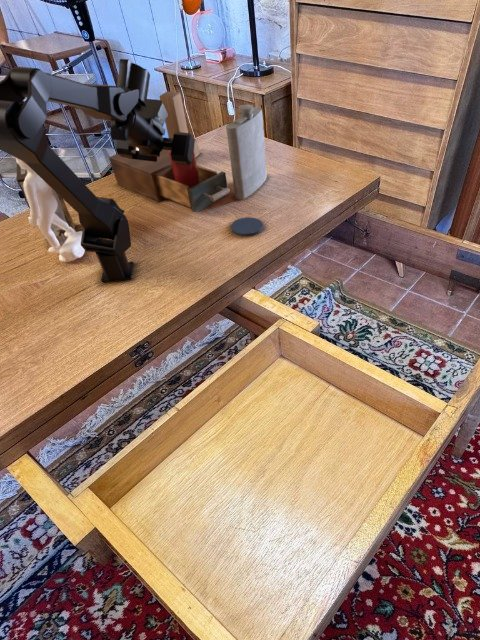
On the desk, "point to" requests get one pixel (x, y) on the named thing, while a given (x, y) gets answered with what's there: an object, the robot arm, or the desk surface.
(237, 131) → the hip flask
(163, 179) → the drawer
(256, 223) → the mat
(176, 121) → the wooden block
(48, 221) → the figurine
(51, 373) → the desk surface
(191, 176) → the can
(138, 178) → the cabinet
